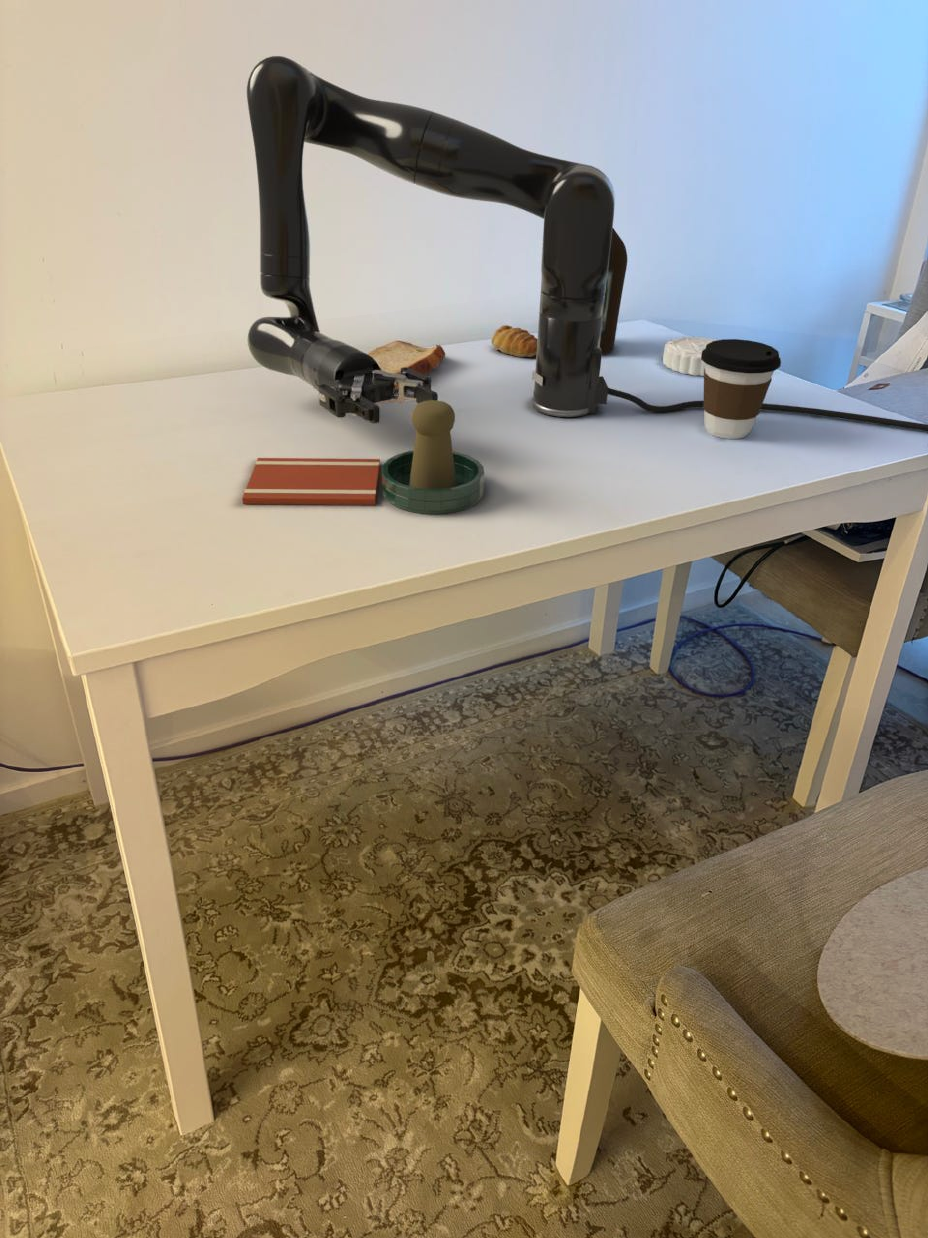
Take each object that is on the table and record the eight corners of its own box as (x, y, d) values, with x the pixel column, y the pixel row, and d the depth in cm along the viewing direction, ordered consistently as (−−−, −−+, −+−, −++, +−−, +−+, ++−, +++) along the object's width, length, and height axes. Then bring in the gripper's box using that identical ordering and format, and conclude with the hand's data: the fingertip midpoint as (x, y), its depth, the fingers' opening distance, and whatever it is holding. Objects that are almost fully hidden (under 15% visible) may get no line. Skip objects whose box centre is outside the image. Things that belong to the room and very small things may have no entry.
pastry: (550, 354, 162) (552, 332, 160) (525, 362, 158) (526, 340, 156) (512, 341, 167) (513, 320, 165) (486, 349, 163) (487, 328, 161)
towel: (380, 464, 121) (379, 458, 120) (375, 505, 111) (375, 498, 110) (258, 463, 120) (257, 456, 120) (242, 504, 110) (241, 497, 110)
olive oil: (565, 336, 171) (577, 191, 157) (621, 343, 168) (639, 195, 154) (552, 353, 162) (564, 200, 148) (611, 360, 160) (629, 205, 146)
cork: (408, 478, 116) (407, 394, 110) (455, 477, 117) (456, 394, 111) (409, 499, 111) (408, 413, 105) (458, 498, 112) (460, 412, 106)
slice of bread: (368, 397, 142) (367, 373, 139) (334, 362, 155) (333, 340, 153) (474, 383, 148) (474, 361, 146) (432, 351, 161) (432, 330, 159)
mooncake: (739, 377, 153) (744, 356, 151) (668, 375, 153) (671, 354, 151) (723, 355, 163) (727, 335, 161) (657, 353, 163) (660, 333, 161)
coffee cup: (770, 425, 136) (788, 344, 129) (757, 451, 127) (776, 366, 121) (697, 412, 139) (711, 333, 133) (680, 436, 131) (694, 353, 124)
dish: (480, 470, 120) (481, 449, 118) (485, 514, 109) (486, 491, 108) (384, 469, 119) (384, 448, 118) (380, 513, 109) (379, 490, 107)
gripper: (291, 353, 118) (356, 389, 107) (384, 336, 125) (453, 368, 114) (296, 409, 122) (358, 449, 111) (385, 389, 129) (452, 425, 119)
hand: (406, 408), depth 113 cm, fingers open, 8 cm apart
